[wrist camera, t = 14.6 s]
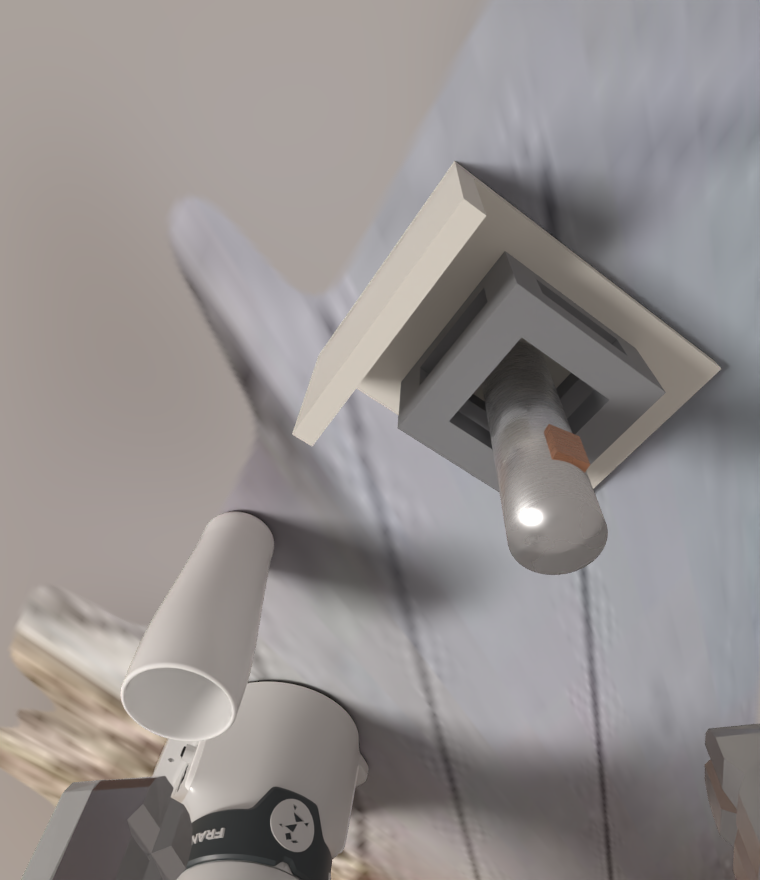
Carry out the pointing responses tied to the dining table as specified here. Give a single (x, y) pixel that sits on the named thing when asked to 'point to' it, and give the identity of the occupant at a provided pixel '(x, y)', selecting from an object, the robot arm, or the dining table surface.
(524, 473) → the tube
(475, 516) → the dining table surface
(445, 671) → the dining table surface
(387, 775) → the dining table surface
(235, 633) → the drinking glass
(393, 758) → the dining table surface
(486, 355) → the stand
